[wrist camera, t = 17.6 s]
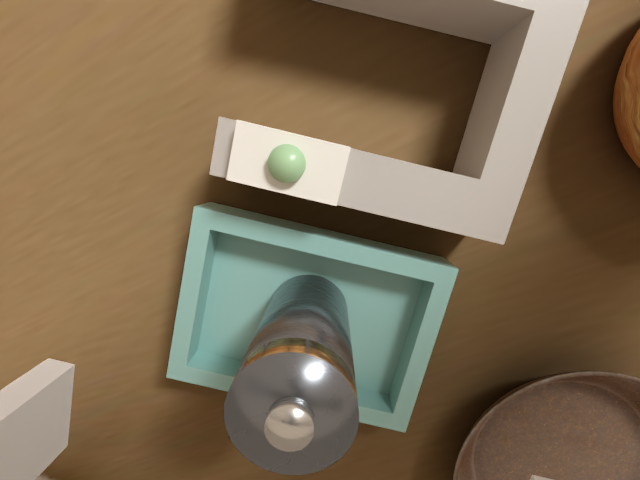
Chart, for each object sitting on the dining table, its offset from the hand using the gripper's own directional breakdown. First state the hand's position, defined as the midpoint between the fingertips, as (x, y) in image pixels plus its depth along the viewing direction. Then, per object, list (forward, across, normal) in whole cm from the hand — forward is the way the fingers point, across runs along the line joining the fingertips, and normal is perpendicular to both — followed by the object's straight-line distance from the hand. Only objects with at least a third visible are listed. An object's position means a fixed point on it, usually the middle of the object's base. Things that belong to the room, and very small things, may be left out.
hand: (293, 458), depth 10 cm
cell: (+11, 0, 0) cm, 11 cm away
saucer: (+12, +18, -7) cm, 22 cm away
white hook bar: (+12, 0, +12) cm, 17 cm away
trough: (+12, 0, -1) cm, 12 cm away
